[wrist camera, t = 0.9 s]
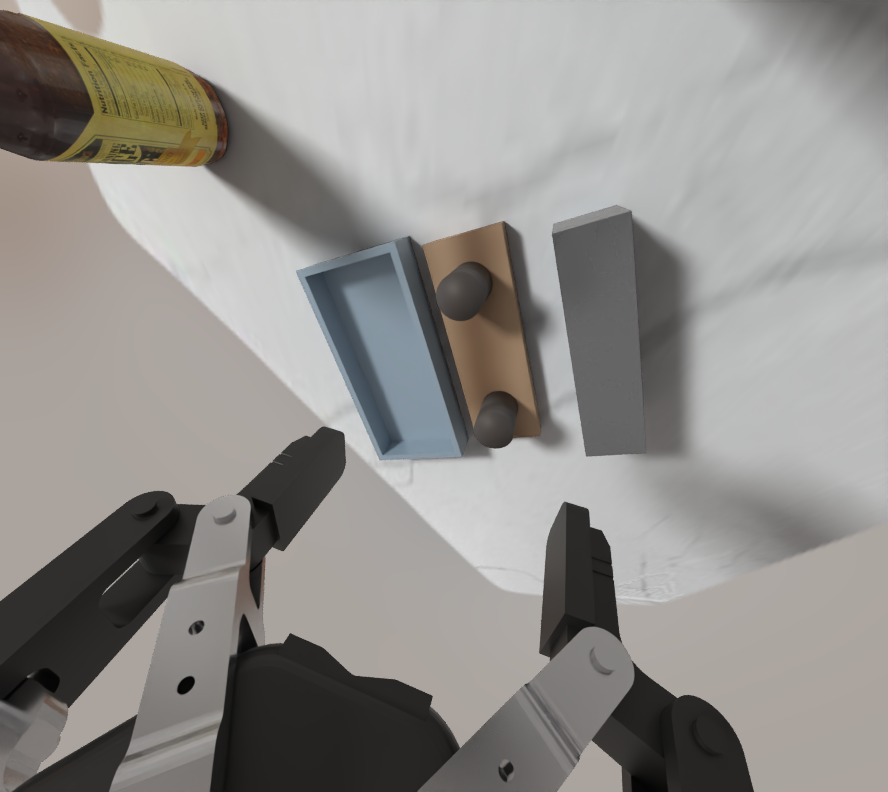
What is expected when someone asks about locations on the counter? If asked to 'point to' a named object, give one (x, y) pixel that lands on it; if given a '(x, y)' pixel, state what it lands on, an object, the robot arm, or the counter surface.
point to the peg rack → (485, 332)
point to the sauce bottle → (101, 101)
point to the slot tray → (388, 350)
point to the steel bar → (603, 327)
